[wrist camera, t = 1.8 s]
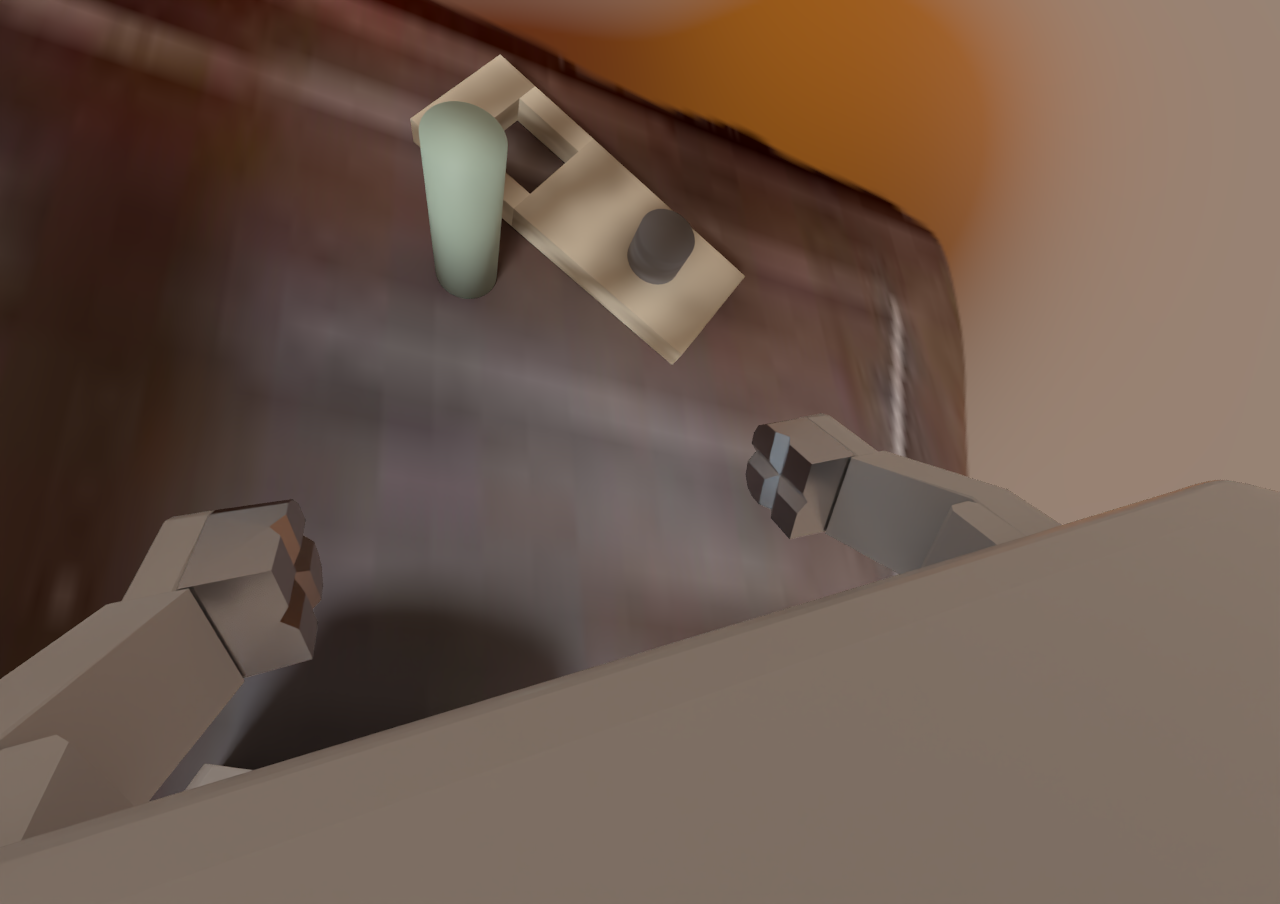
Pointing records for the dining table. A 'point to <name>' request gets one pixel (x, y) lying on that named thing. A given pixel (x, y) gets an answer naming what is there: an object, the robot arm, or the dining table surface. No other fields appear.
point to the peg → (464, 194)
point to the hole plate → (603, 220)
